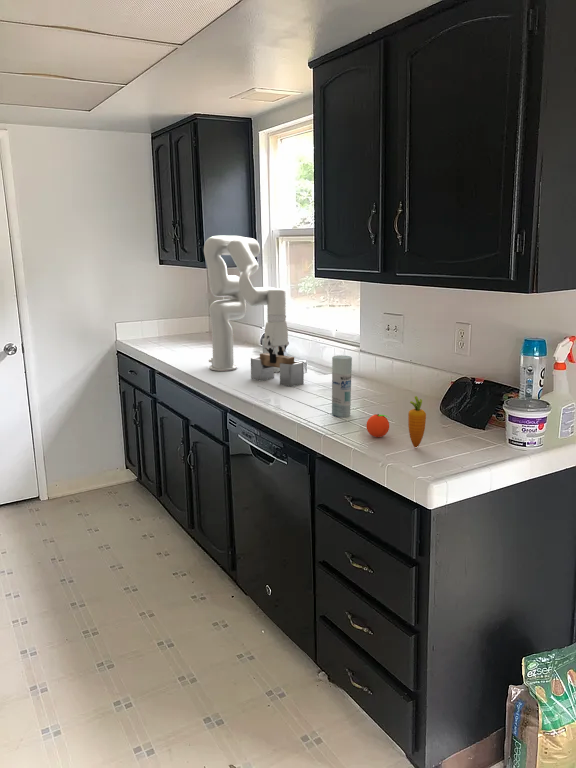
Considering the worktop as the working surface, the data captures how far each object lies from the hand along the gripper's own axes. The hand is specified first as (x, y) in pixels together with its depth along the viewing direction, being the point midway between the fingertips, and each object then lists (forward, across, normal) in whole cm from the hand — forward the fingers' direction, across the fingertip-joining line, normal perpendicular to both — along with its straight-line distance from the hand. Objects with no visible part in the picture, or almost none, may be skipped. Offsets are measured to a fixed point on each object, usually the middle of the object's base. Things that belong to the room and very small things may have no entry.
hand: (276, 361), depth 271 cm
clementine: (+9, +36, +77) cm, 85 cm away
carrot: (+9, +38, +91) cm, 99 cm away
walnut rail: (+2, 0, 0) cm, 2 cm away
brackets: (+8, 0, 0) cm, 8 cm away
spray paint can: (+9, +24, +53) cm, 59 cm away
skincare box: (+9, -15, -17) cm, 24 cm away
